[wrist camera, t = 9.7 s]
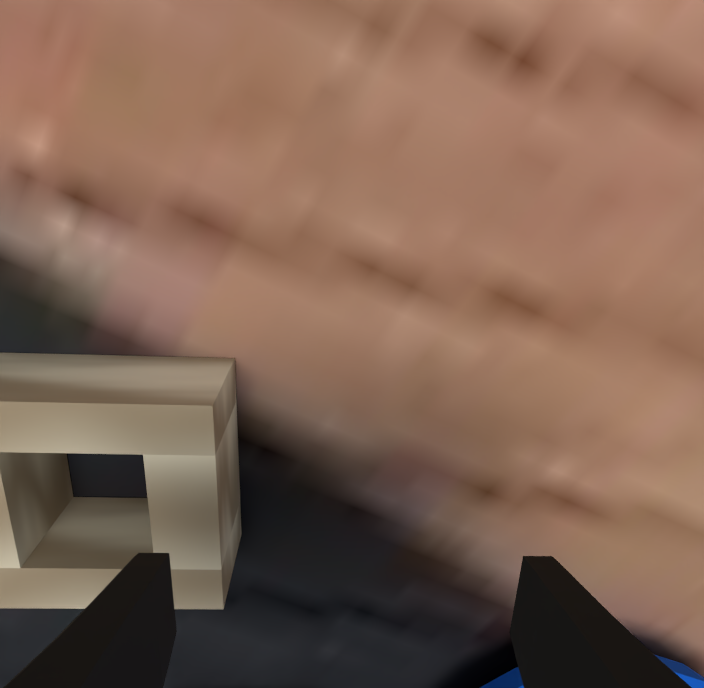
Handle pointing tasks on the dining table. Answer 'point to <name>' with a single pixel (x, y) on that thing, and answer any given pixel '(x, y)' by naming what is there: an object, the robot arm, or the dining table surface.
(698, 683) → the blue round knobbed lid
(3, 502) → the hole block
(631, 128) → the dining table surface
